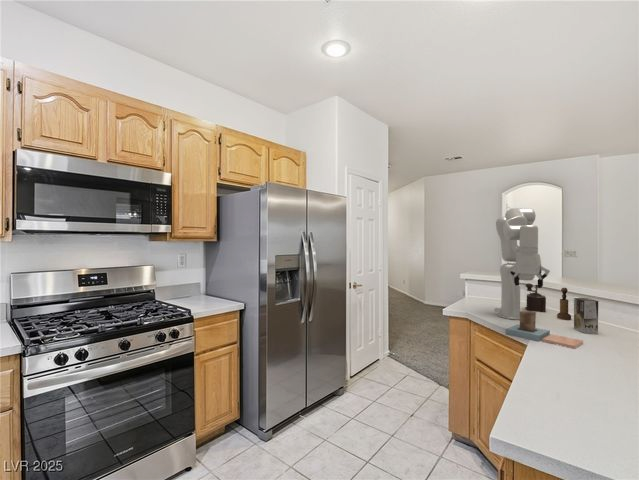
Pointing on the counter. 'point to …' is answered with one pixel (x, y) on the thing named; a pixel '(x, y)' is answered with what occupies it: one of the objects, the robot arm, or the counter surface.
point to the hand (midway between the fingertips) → (528, 286)
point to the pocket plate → (527, 333)
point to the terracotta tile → (563, 341)
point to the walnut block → (527, 321)
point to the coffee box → (586, 315)
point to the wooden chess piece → (564, 307)
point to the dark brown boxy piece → (535, 300)
